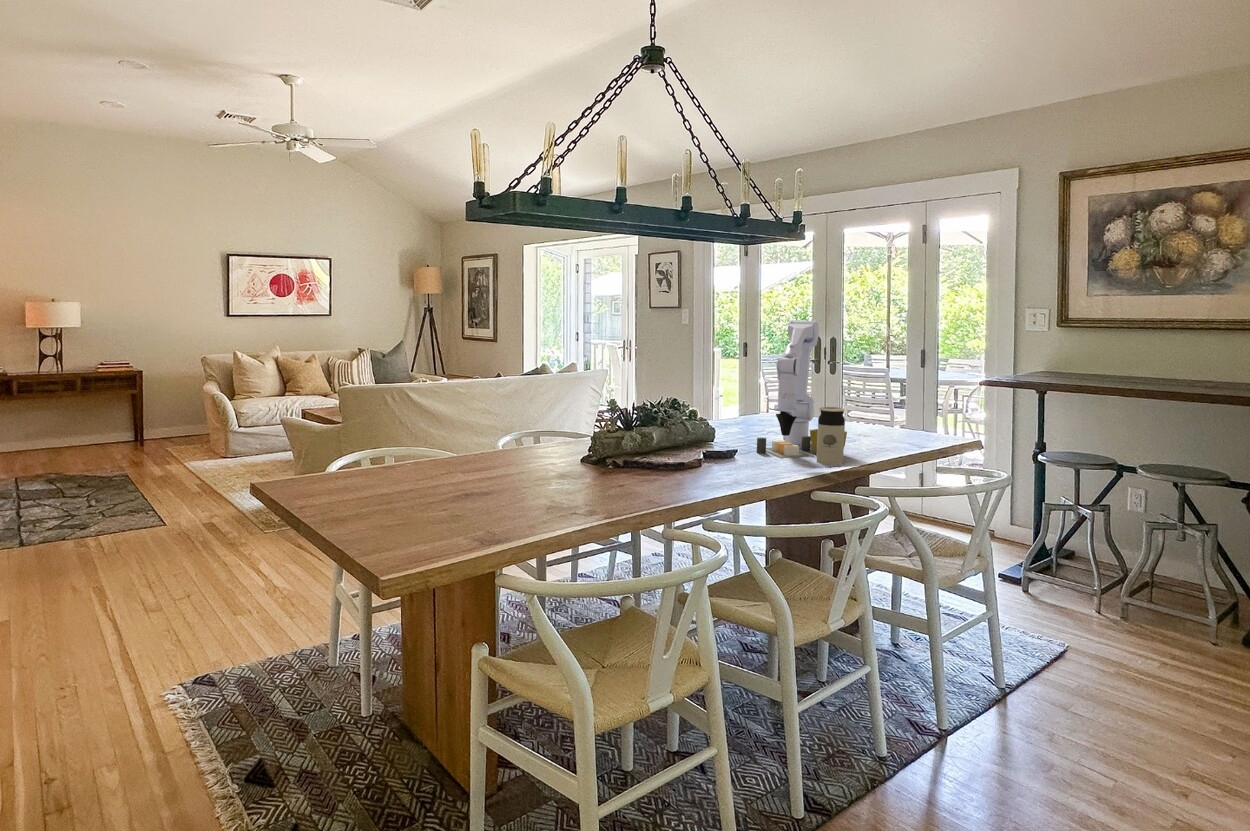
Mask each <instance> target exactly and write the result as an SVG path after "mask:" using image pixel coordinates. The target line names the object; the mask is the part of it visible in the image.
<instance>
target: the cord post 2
mask: <svg viewBox="0 0 1250 831" xmlns="http://www.w3.org/2000/svg"><path fill="white" fill-rule="evenodd" d="M811 446H812V445H811V438H810V435H808V436H802V439H801V445H800V450H802V451H805V452H807V453H810V452H811Z"/></svg>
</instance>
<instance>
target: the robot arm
mask: <svg viewBox="0 0 1250 831" xmlns="http://www.w3.org/2000/svg"><path fill="white" fill-rule="evenodd" d="M819 330H820V328H819V322H818V321H817V320H792V319H791V320H790V321H789V322H788V324H787V335H788V339H789V343H788V344H787V345H786V346H785V348H784V351H783V353H782V356H781V357H780V358H777V362H776V363H777V364H776V372H777V373H776V374H777V381H778V391H777V392H778V393H777V404H774V407H773V408H774V409H773V410H774V411H775V412H779V413H775V416H776V419H777V422H778V423H779V428H780V432H781V436H783V438H782V440H784V441H786V443H788V442H789V443H792V445H797V446H799V445H800V446H801V439H802V436H809V431H810V429H809V427H810V426H809V425H810V421H812V420H813V419H814V415H815V401H814V399H813V397H812V396H810V395H809V394H808V393H807V392H808V383H809V372H810V360H811V352H812V350H813V347H816V346H817V345H818V340H819Z"/></svg>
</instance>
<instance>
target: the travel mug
mask: <svg viewBox="0 0 1250 831" xmlns="http://www.w3.org/2000/svg"><path fill="white" fill-rule="evenodd" d="M819 410H820V415H819V416H818V420H817V429H818V438H817V454H816V463H818V464H820V465H821V464H822V465H832V466H837V467H839V468H842V467H841V466H838V465H842V464H843V463H844V449H845V447H844V431H846V430H845V427H846V426H845V425H846V419H845V416H844V412H845V408H844V407H837V406H836V407H835V406H823V407H822V406H821V407H819ZM832 466H829V467H830V468H829V469H832V468H831V467H832Z"/></svg>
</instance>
